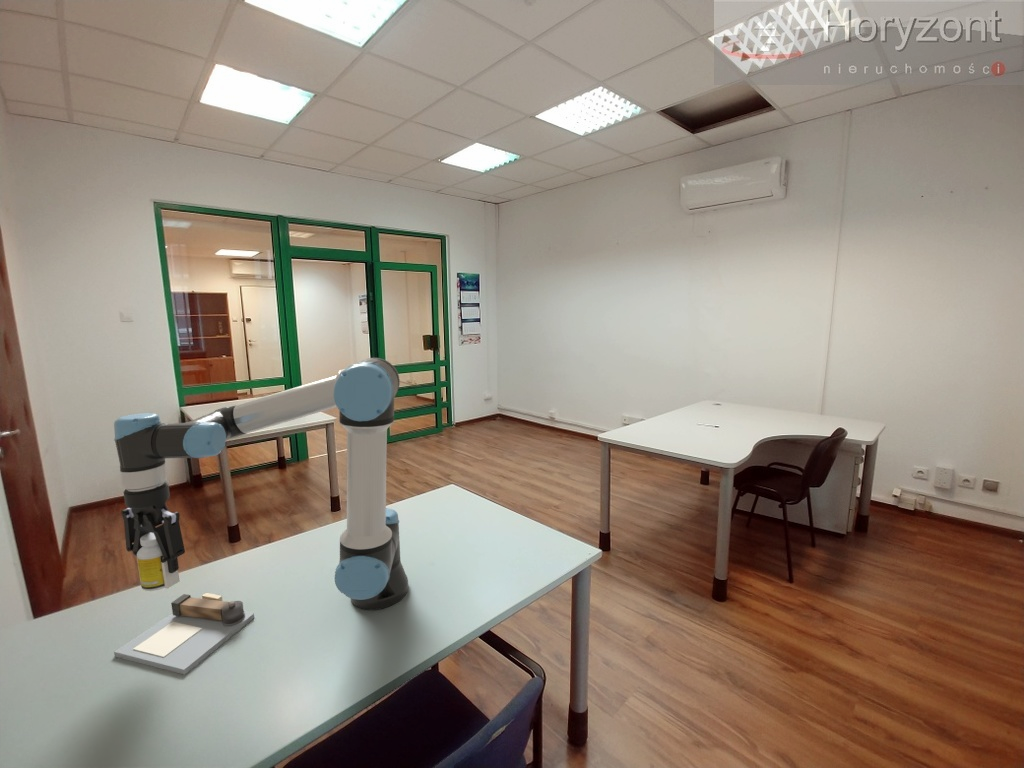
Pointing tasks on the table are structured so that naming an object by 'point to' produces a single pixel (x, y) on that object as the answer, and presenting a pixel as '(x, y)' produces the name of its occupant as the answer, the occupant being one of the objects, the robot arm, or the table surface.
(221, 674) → the table surface
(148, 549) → the pill bottle
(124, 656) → the board
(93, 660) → the table surface
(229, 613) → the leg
